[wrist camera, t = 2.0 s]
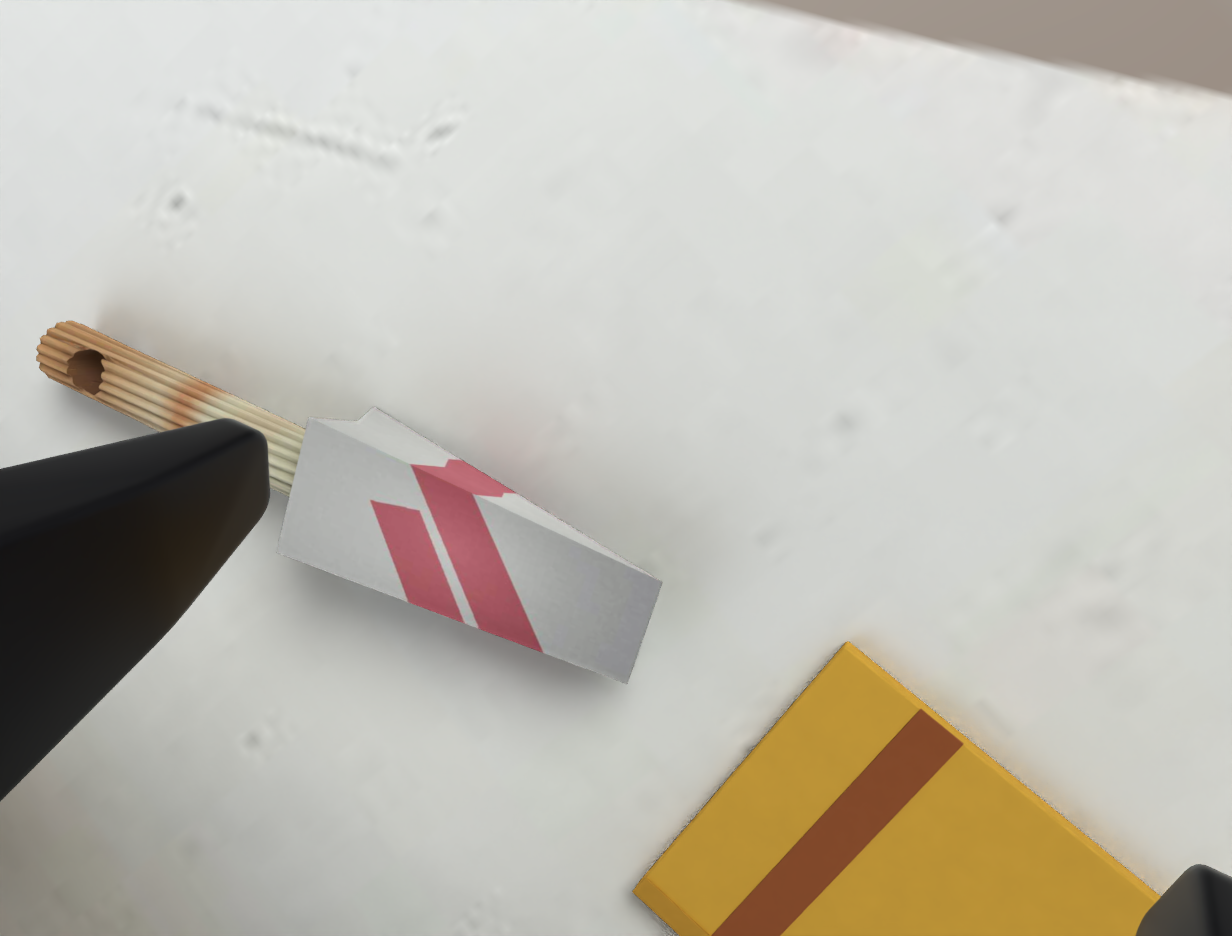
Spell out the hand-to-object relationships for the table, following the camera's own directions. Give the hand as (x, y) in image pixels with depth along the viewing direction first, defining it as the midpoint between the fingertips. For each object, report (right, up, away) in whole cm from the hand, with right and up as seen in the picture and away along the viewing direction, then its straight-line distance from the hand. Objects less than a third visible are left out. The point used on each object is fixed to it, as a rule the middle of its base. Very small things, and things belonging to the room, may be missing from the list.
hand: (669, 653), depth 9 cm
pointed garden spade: (-8, +2, +20) cm, 22 cm away
